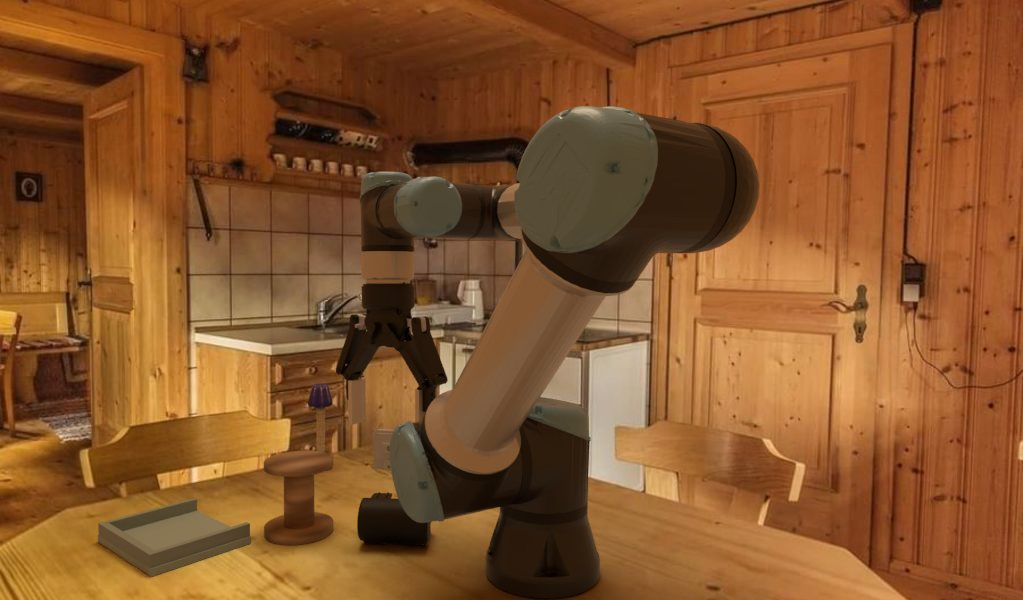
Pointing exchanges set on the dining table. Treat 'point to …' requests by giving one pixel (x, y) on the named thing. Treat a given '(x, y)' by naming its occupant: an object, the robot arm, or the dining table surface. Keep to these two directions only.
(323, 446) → the toy lamp
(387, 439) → the cassette
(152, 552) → the olive grey tray
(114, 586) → the dining table surface
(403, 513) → the end cap
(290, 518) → the bobbin spool
